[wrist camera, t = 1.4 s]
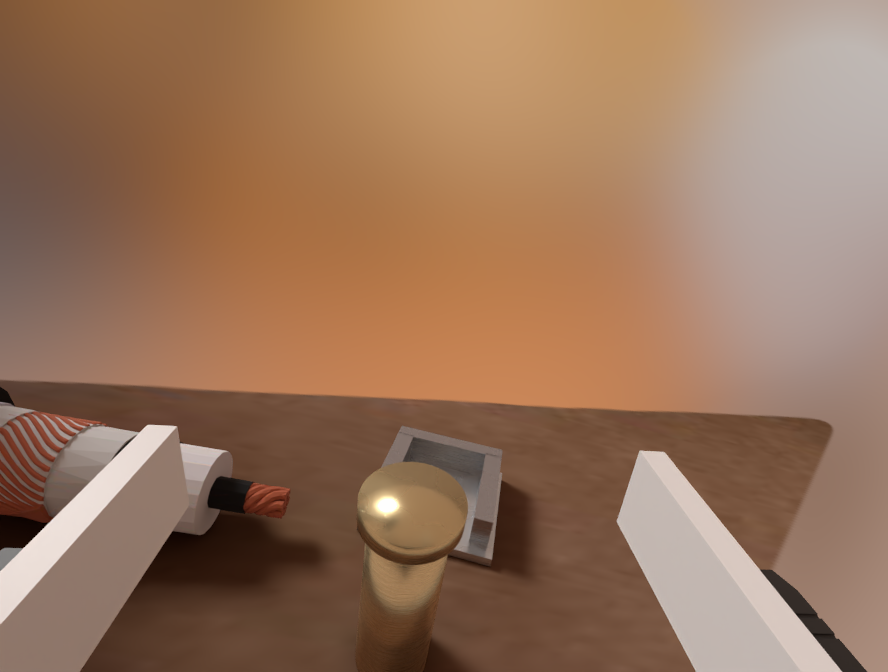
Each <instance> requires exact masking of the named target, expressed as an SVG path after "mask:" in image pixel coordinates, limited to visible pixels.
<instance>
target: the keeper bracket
mask: <svg viewBox="0 0 888 672" xmlns="http://www.w3.org/2000/svg"><path fill="white" fill-rule="evenodd" d="M501 458H502V450H500V449H496V448H492V447H488V446H483V445H479V444H475V443H471V442H467V441H463V440H459V439H454V438H450V437H446V436H442V435H438V434H434V433H430V432H425V431H421V430H417V429H413V428H409V427H405V426H402V427H401V429H400V431H399V433H398V435H397V437H396V439H395V441H394V443H393V445H392V447H391V449H390V451H389V453H388V455H387V457H386V459H385V461H384V463H383V465H382V467H385V466H387V465H390V464H394V463H399V462H419V463H425V464H429V465H432V466H435V467H437V468H439V469H441V470H443V471H445V472H446V473H448V474H450V475H451V476H452V477H453V478H454V479H455V480H456V481H457V482H458V483H459V484H460V485H461V487H462V488H463V490H464V492H465V494H466V497H467V501H468V514H467V518H466V523H465V528H464V532H463V535H462V538H461V540H460V542H459V543H458V545H457V546H456V547H455V549H454V550H453V551H452V552H450V553H449V554H448V555H450V556H453V557H457V558H460V559H464V560H468V561H471V562H475V563H479V564H482V565H486V566H489V567H490V565H491V562H492V555H493V547H494V538H495V530H496V521H497V513H498V504H499V496H500V487H501V479H502V473H500V466H501ZM382 467H381V468H382ZM357 530H358V527H357Z"/></svg>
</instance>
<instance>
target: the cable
mask: <svg viewBox="0 0 888 672" xmlns="http://www.w3.org/2000/svg"><path fill="white" fill-rule="evenodd" d="M138 434H139V433H138V432H132V431H127V430H121V429H115V428H110V427H107V424H102V422H96V421H89V420H84V419H75V418H72V417H63V416H59V415H54V414H48V413H44V412H39V411H34V410H29V409H23V408H18V407H15V405H14V403H13V401H12V400H11V398H10V396H9V394H8V392H7V391H5V390H4V389H2V388H1V387H0V515H10V516H18V517H24V518H28V519H31V520H35V521H38V522H41V523H47V522H50V521H51V520H52V519H53V518H54V517H55V516H56V515H57V514H58V513H59V512H60V511H61V510H62V509H63V508H65V507H66V506H67V505H68V504H69V503H70V502H71V501H72V500H73V499H74V498H75V497H76V496H77V495H78V494H79V493H80V492H81V491H82V490H83V489H84V488H85V487H86V486H87V485H88V484H89V483H90V482H91V481H92V480H93V479H94V478H95V477H96V476H97V475H98V474H99V473H100V472H101V471H102V470H103V469H104V468H105V467H106V466H107V465H108V464H109V463H110V462H111V461H112V460H113V459H114V458H115V457H116V456H117V455H118V454H119V453H120V452H121V451H122V450H123V449H124V448H125V447H126V446H127V445H128V444H129V443H130V442H131V441H132V440H133V439H134V438H135V437H136V436H137V435H138ZM180 447H181V454H182V460H183V466H184V473H185V479H186V485H187V492H188V498H189V504H190V505H189V506H188V508H187V510H186V511H185V513H184V514H183V516H182V517H181V519H180V520H179V522H178V523H177V525H176V526H175V528H174V529H173V531H176V532H182V533H189V534H195V535H202V534H204V533H205V532H206V531H207V530H208V529H209V528H210V527H211V526H212V524H213V523H214V521H215V520H216V518H217V516H218V514H219V512H220V510H225V511H231V512H237V513H243V514H245V513H250V514H251V513H255V514H257V515H266V516H268V517H275V518H282V516H284V514H285V512H286V508H287V507H286V506H287V505H288V502H289V498H290V496H289V494H290V489H288V488H283V487H278V486H268V485H261V484H257V483H255V482H250V481H245V480H240V479H234V478H231V476H232V466H233V459H232V456H231V454H230V452H229V451H224V450H218V449H212V448H206V447H200V446H194V445H188V444H184V443H182V442H180Z"/></svg>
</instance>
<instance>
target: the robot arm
mask: <svg viewBox="0 0 888 672" xmlns="http://www.w3.org/2000/svg"><path fill="white" fill-rule="evenodd" d="M189 505H190V504H189V498H188V492H187V485H186V479H185V473H184V466H183V460H182V454H181V447H180V441H179V435H178V428H177V426H162V425H147V426H146V427H145V428H144V429H143V430H142V431H141V432H140V433H139V434H138V435H137V436H136V437H135V438H134V439H133V440H132V441H131V442H130V443H129V444H128V445H127V446H126V447H125V448H124V449H123V450H122V451H121V452H120V453H119V454H118V455H117V456H116V457H115V458H114V459H113V460H112V461H111V462H110V463H109V464H108V465H107V466H106V467H105V468H104V469H103V470H102V471H101V472H100V473H99V474H98V475H97V476H96V477H95V478H94V479H93V480H92V481H91V482H90V483H89V484H88V485H87V486H86V487H85V488H84V489H83V490H82V491H81V492H80V493H79V494H78V495H77V496H76V497H75V498H74V499H73V500H72V501H71V502H70V503H69V504H68V505H67V506H66V507H65V508H63V509H62V510H61V511H60V512H59V513H58V514H57V515H56V516H55V517H54V518H53V519H52V520H51V521H50V522H49V523H48V524H47V525H46V526H45V527H44V528H43V529H42V530H41V531H40V532H39V533H38V534H37V535H36V536H35V537H34V538H33V539H32V540H31V541H30V542H29V543H28V544H27V545H26V546H25V547H24V548H4V549H2V550H0V672H80V671H81V669H82V668H83V666H84V665H85V663H86V662H87V660H88V658H89V657H90V655H91V654H92V652H93V651H94V649H95V648H96V646H97V645H98V643H99V642H100V640H101V639H102V637H103V636H104V634H105V633H106V631H107V630H108V628H109V627H110V625H111V624H112V622H113V620H114V619H115V617H116V616H117V614H118V613H119V611H120V610H121V608H122V607H123V605H124V604H125V602H126V601H127V599H128V598H129V596H130V595H131V593H132V592H133V590H134V589H135V587H136V586H137V584H138V582H139V581H140V579H141V578H142V576H143V575H144V573H145V572H146V570H147V569H148V567H149V566H150V564H151V563H152V561H153V560H154V558H155V557H156V555H157V554H158V552H159V551H160V549H161V548H162V546H163V544H164V543H165V541H166V540H167V538H168V537H169V535H170V534H171V532H172V531H173V529H174V528H175V526H176V525H177V523H178V522H179V520H180V519H181V517H182V516H183V514H184V513H185V511H186V510H187V508H188V506H189ZM617 523H618V525H619V527H620V529H621V531H622V532H623V534H624V536H625V538H626V540H627V542H628V544H629V546H630V548H631V550H632V551H633V553H634V555H635V557H636V559H637V561H638V563H639V565H640V567H641V568H642V570H643V572H644V574H645V576H646V578H647V580H648V582H649V584H650V585H651V587H652V589H653V591H654V593H655V595H656V597H657V599H658V601H659V603H660V604H661V606H662V608H663V610H664V612H665V614H666V616H667V618H668V620H669V621H670V623H671V625H672V627H673V629H674V631H675V633H676V635H677V637H678V638H679V640H680V642H681V644H682V646H683V648H684V650H685V652H686V654H687V656H688V657H689V659H690V661H691V663H692V665H693V667H694V669H695V671H696V672H867V671H866V670H865V669H864V668H863V667H862V666H861V664H860V663H859V662H858V661H857V660H856V658H855V657H854V656H853V655H852V654H851V652H850V651H849V650H848V649H847V648H846V647H845V645H844V644H843V643H842V642H841V641H840V640H839V639H836V638H835V636H834V633H833V631H832V630H831V629H830V628H829V627H828V626H827V624H826V623H825V622H824V621H823V620H822V619H819V618H818V616H817V613H816V612H815V611H814V609H813V608H812V607H811V606H810V605H809V603H808V602H807V601H806V600H805V599H804V598H803V597H802V595H801V594H800V593H799V592H798V591H797V590H796V589H795V588H794V587H792V586H791V585H790V584H789V583H787V582H786V581H785V580H784V579H782V578H781V577H780V576H779V575H777V574H776V573H775V572H774V571H772V570H759V568H758V567H757V566H756V565H755V563H754V562H753V561H752V560H751V559H750V557H749V556H748V555H747V554H746V552H745V551H744V550H743V549H742V547H741V546H740V545H739V544H738V542H737V541H736V540H735V539H734V538H733V536H732V535H731V534H730V533H729V531H728V530H727V529H726V528H725V526H724V525H723V524H722V523H721V521H720V520H719V519H718V518H717V517H716V515H715V514H714V513H713V512H712V510H711V509H710V508H709V507H708V505H707V504H706V503H705V502H704V500H703V499H702V498H701V497H700V496H699V494H698V493H697V492H696V491H695V489H694V488H693V487H692V486H691V484H690V483H689V482H688V481H687V479H686V478H685V477H684V476H683V475H682V473H681V472H680V471H679V470H678V468H677V467H676V466H675V465H674V463H673V462H672V461H671V460H670V458H669V457H668V456H667V455H666V454H665V452H653V451H639V454H638V457H637V461H636V464H635V467H634V470H633V473H632V476H631V479H630V482H629V485H628V488H627V491H626V494H625V498H624V501H623V504H622V507H621V510H620V513H619V516H618V519H617Z"/></svg>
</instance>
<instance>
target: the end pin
mask: <svg viewBox="0 0 888 672" xmlns="http://www.w3.org/2000/svg"><path fill="white" fill-rule="evenodd" d="M467 514H468V501H467V497H466V494H465V492H464V490H463V488H462V487H461V485H460V484H459V483H458V482H457V481H456V480H455V479H454V478H453V477H452V476H451V475H450V474H448V473H446V472H445V471H443V470H441V469H439V468H437V467H435V466H432V465H429V464H425V463H419V462H399V463H394V464H390V465H387V466H385V467H382V468H380V469H378V470H377V471H375V472H374V473H372V474H371V475H370V476H369V477H368V478H367V479H366V480H365V482H364V483H363V485H362V487H361V489H360V491H359V496H358V507H357V527H358V530H359V533H360V535H361V537H362V539H363V540H364V542H365V551H364V563H363V574H362V585H361V596H360V608H359V619H358V630H357V641H356V654H355V659H356V666H357V669H358V672H423V670H424V667H425V664H426V660H427V655H428V650H429V645H430V640H431V635H432V630H433V625H434V620H435V616H436V611H437V606H438V601H439V596H440V591H441V586H442V581H443V576H444V571H445V567H446V562H447V557H448V554H449V553H450V552H452V551H453V550H454V549H455V547H456V546H457V545H458V543H459V542H460V540H461V538H462V535H463V532H464V528H465V523H466V518H467Z"/></svg>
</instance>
